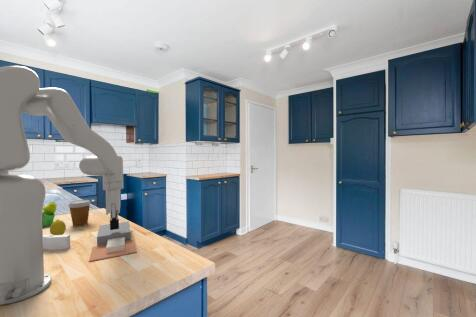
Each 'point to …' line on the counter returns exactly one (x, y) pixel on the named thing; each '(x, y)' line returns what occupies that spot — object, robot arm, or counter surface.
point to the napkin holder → (56, 242)
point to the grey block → (113, 233)
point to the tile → (115, 244)
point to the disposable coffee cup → (79, 212)
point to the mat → (100, 252)
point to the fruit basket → (48, 214)
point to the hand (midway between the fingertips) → (114, 228)
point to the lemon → (57, 227)
